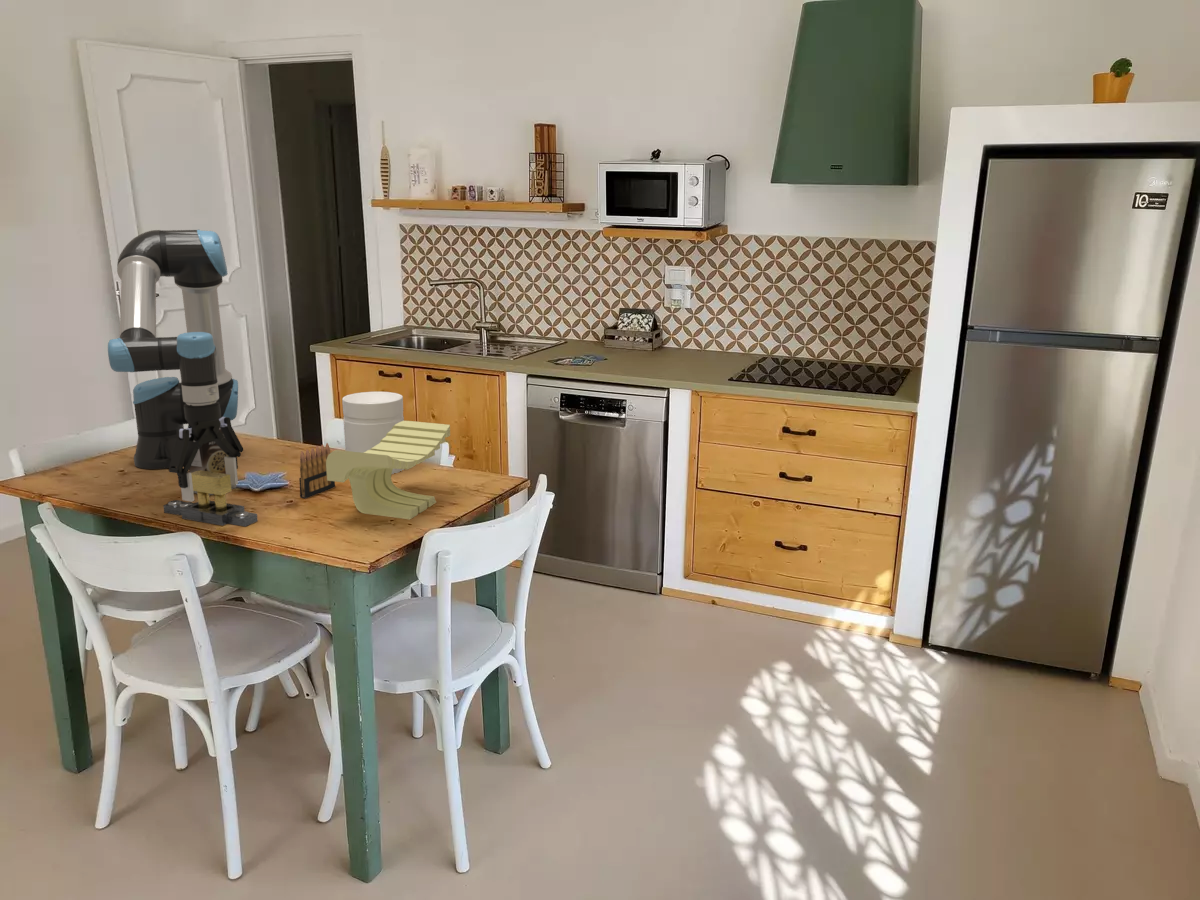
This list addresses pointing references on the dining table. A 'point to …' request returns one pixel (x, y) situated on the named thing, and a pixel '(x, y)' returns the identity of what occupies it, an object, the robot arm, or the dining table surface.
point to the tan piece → (211, 488)
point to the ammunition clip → (314, 472)
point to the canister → (370, 419)
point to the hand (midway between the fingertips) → (211, 492)
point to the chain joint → (211, 513)
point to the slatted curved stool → (388, 469)
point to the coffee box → (210, 459)
